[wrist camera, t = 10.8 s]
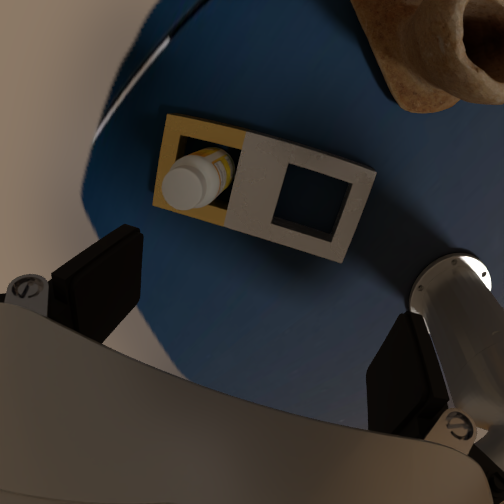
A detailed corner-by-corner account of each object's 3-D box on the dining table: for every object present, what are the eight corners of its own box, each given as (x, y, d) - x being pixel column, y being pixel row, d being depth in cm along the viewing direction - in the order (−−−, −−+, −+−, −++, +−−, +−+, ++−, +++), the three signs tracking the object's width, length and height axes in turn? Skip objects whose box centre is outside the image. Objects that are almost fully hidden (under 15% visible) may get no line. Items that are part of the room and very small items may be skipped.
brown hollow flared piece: (480, 102, 27) (559, 110, 13) (392, 120, 30) (442, 131, 17) (435, -17, 22) (490, -65, 8) (343, -4, 25) (358, -67, 12)
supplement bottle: (245, 164, 36) (221, 184, 27) (219, 199, 38) (190, 229, 30) (207, 137, 35) (172, 148, 27) (183, 173, 38) (145, 195, 29)
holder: (372, 167, 33) (376, 172, 31) (340, 253, 38) (341, 263, 36) (176, 112, 34) (167, 114, 32) (161, 199, 39) (152, 205, 37)
